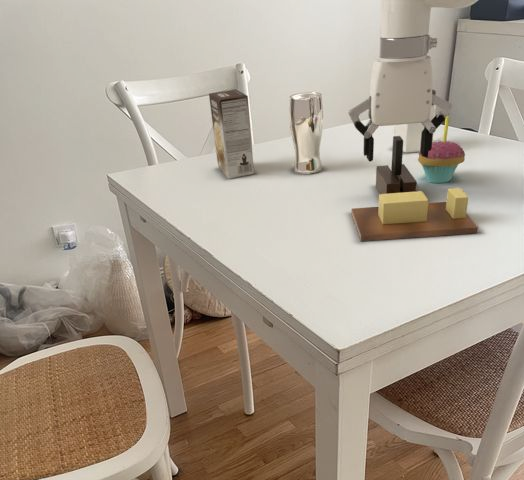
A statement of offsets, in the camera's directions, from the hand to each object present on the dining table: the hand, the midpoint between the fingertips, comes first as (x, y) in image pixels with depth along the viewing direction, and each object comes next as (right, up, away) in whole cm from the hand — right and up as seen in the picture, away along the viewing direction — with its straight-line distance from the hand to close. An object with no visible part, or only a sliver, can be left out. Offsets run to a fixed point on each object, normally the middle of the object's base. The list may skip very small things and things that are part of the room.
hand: (396, 157), depth 97 cm
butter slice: (+8, -12, -8) cm, 17 cm away
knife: (+1, -6, +4) cm, 7 cm away
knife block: (+1, -6, +4) cm, 7 cm away
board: (0, -14, -8) cm, 16 cm away
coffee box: (-30, +5, +25) cm, 39 cm away
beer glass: (-14, +5, +21) cm, 26 cm away
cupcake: (+11, -1, +9) cm, 14 cm away
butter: (-1, -13, -8) cm, 15 cm away
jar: (+11, +12, +29) cm, 33 cm away
